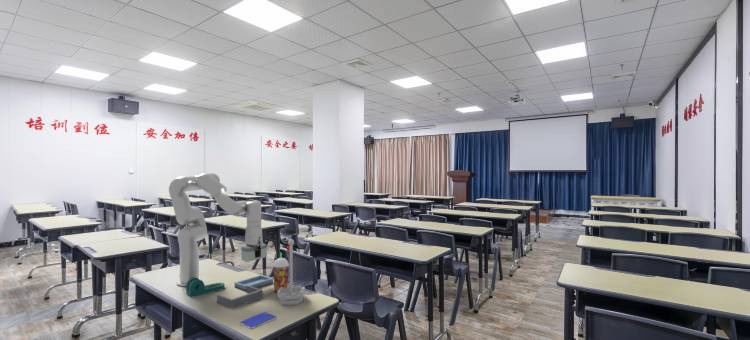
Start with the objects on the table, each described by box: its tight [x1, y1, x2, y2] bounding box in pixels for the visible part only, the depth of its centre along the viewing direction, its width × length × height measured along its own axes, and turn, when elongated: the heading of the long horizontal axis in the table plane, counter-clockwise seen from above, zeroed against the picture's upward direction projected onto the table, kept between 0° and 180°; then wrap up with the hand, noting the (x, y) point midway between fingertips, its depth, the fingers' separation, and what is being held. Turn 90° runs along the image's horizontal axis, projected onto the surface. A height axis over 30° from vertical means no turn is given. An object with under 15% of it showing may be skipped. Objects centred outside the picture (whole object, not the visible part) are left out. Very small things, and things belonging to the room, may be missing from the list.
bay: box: [216, 285, 264, 309], centre depth 172 cm, size 12×17×4 cm
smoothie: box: [272, 252, 290, 293], centre depth 185 cm, size 8×8×20 cm
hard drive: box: [238, 311, 277, 329], centre depth 148 cm, size 2×8×12 cm
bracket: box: [185, 277, 225, 298], centre depth 184 cm, size 18×7×8 cm, turn 134°
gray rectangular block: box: [240, 243, 268, 262], centre depth 194 cm, size 6×12×7 cm, turn 144°
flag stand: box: [276, 238, 306, 306], centre depth 171 cm, size 13×13×30 cm
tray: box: [234, 274, 274, 292], centre depth 194 cm, size 11×17×2 cm, turn 144°
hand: (254, 255), depth 194 cm, fingers closed on gray rectangular block, 6 cm apart
